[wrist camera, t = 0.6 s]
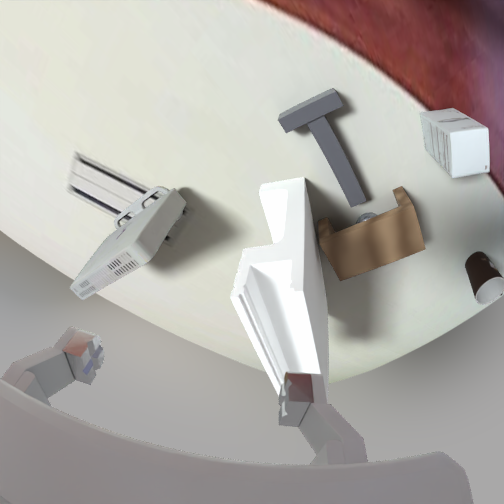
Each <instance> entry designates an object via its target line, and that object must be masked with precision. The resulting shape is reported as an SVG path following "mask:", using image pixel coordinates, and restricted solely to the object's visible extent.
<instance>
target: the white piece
mask: <svg viewBox="0 0 504 504" xmlns="http://www.w3.org/2000/svg"><path fill="white" fill-rule="evenodd" d="M259 195H260V198H261V201H262V205H263V208H264V211H265V215H266V218H267V222H268V225H269V228H270V232H271V235H272V239H273V242H274V244H272V245H265V246H258V247H250V248H243V252H242V257H241V259H240V263H239V267H238V271H239V272H237V274H236V278H235V281H234V285H233V287H234V289H232V292H231V296H230V298H231V300H232V302H233V304H234V307H235V309H236V311H237V313H238V315H239V317H240V319H241V321H242V323H243V325H244V327H245V329H246V331H247V334H248V336H249V338H250V340H251V342H252V344H253V346H254V348H255V350H256V352H257V354H258V356H259V358H260V360H261V362H262V364H263V366H264V368H265V370H266V372H267V374H268V376H269V378H270V379H271V381H272V384H273V386H274V387H275V389H276V391H277V393H278V395H279V394H280V388H281V385H282V383H284V376H285V373H286V372H287V371H289V372H301V373H314V374H322V375H323V379H324V386H325V392H326V399H327V404H328V375H329V344H328V305H327V298H326V292H325V285H324V279H323V273H322V266H321V261H320V255H319V249H318V243H317V238H316V232H315V227H314V222H313V217H312V212H311V206H310V202H309V197H308V192H307V187H306V182H305V178H304V177H301V178H294V179H288V180H283V181H277V182H271V183H266V184H261V188H260V191H259Z"/></svg>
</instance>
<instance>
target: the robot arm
mask: <svg viewBox="0 0 504 504" xmlns="http://www.w3.org/2000/svg"><path fill="white" fill-rule="evenodd" d="M100 343H101V338H100V336H99V335H97V334H94V333H90V332H88V331H84V330H82V329H78V328H75V327H73V326H71V327H69V328H68V329H67V330H66V332H65V333H64V334H63V335H62V337H61V338H60V339H59V341H58V342H57V343H56V344H55V346H54V347H49V348H47V349H44V350H42V351H39V352H37V353H35V354H32V355H30V356H27V357H25V358H23V359H20V360H18V361H16V362H13V364H12V365H11V366H10V367H9V369H8V370H7V371H6V372H5V374H4V375H3V376H2V378H1V379H0V504H473V499H472V494H471V489H470V485H469V482H468V478H467V475H466V472H465V470H464V469H463V468H462V467H461V466H460V465H459V464H458V463H457V462H456V461H454V460H453V459H452V458H450V457H449V456H448V455H446V454H445V453H443V452H432V453H427V454H422V455H417V456H411V457H406V458H399V459H393V460H385V461H376V462H368V460H367V455H366V449H365V444H364V439H363V438H362V437H361V436H360V435H359V433H358V432H357V431H356V430H355V429H354V428H353V427H352V426H351V425H350V424H349V423H348V422H347V421H346V420H345V419H344V418H343V417H342V416H341V415H340V414H339V412H337V410H336V409H335V408H334V407H333V406H332V405H331V404H327V399H326V392H325V386H324V379H323V375H322V374H314V373H301V372H289V371H287V372H286V373H285V376H284V383H282V385H281V388H280V394H279V405H280V406H281V408H280V411H279V425H284V426H294V427H299V429H300V431H301V432H302V434H303V435H304V437H305V438H306V440H307V441H308V442H309V444H310V446H311V447H312V448H313V450H314V451H315V453H316V454H317V456H316V457H315V458H314V460H313V461H312V462H311V463H310V465H290V464H271V463H259V462H248V461H239V460H231V459H224V458H217V457H211V456H205V455H200V454H195V453H190V452H185V451H180V450H176V449H171V448H167V447H163V446H159V445H155V444H152V443H148V442H144V441H141V440H137V439H134V438H131V437H127V436H124V435H121V434H118V433H115V432H112V431H109V430H106V429H104V428H101V427H98V426H96V425H93V424H90V423H88V422H85V421H83V420H80V419H78V418H76V417H73V416H71V415H69V414H66V413H64V412H62V411H59V410H58V409H55V408H53V407H52V406H51V404H50V403H49V401H48V399H47V398H49V397H50V396H52V395H53V394H55V393H57V392H58V391H60V390H61V389H63V388H64V387H66V386H67V385H69V384H71V383H72V382H74V381H75V380H77V381H80V382H83V383H86V384H89V385H91V383H92V381H93V379H94V378H95V376H96V372H95V370H97V369H99V368H100V367H101V365H102V364H103V360H104V350H103V348H102V347H101V346H100Z"/></svg>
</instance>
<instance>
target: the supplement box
mask: <svg viewBox="0 0 504 504" xmlns="http://www.w3.org/2000/svg"><path fill="white" fill-rule="evenodd" d="M420 117H421V123H422V130H423V136H424V143H425V149H426V150H427V151H428V152H429V153H430V154H431V155H432V157H433V158H434V159H435V160H436V161H437V162H438V163H439V164H440V165H441V166H442V167H443V168H444V169H445V170H446V171H447V172H448V174H449V175H450V176H451V177H452V178H458V177H463V176H469V175H475V174H480V173H486V172H490V168H489V167H490V160H489V133H488V128H487V127H485V126H483V125H482V124H480V123H478V122H477V121H475V120H473V119H472V118H470V117H468V116H466V115H465V114H463V113H461V112H459V111H457V110H455V109H454V108H450V109H444V110H437V111H428V112H420Z"/></svg>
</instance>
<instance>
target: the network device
mask: <svg viewBox="0 0 504 504" xmlns="http://www.w3.org/2000/svg"><path fill="white" fill-rule="evenodd" d="M157 191H160V192H162V193H163V194H164V195H163V196H162V197H160V198H159V199H157V200H156V201H155V202H153V203H152V204H150V205H149V206H148V207H146V208H145V207H144V206H143V201H144V200H146V199H147V198H148V197H150V196H151V195H152V194H154V193H155V192H157ZM186 204H187V203H186V201H185V200H184V199H183V198H182V197H181V195H180V194H179V193H178V192H177V190H176V189H175V188H174V189H172V190H170V191H169V190H168V189H167V188H165V187H162V186H156V187H154V188H152V189H151V190H149V191H148V192H147V193H146V194H144V195H143V196H142V197H140V198H139V199H138V200H136V201H135V202H134V203H133V204H131V205H130V206H129V207H128V208H126V209H125V210H124V211H123V212H121V213H120V214H119V215H118V216H117V217H116V218H115V220H114V225H115V227H116V229H117V230H116V231H114V232H113V233H112V234H111V235H109V236H108V237H107V238H106V239H105V240H104V242H103V243H102V244H101V245H100V247H99V248H98V249H97V251H96V252H95V253H94V254H93V256H92V257H91V258H90V260H89V261H88V262H87V264H86V265H85V266H84V268H83V269H82V270H81V272H80V273H79V275H78V276H77V277H76V279H75V280H74V282H73V283H72V285H71V286H70V289H71V290H72V291H73V292H74V293H75V294H76V295H77V296H78V297H80V298H81V299H82V300H84V299H85V298H87V297H89V296H90V295H92V294H94V293H96V292H97V291H99V290H101V289H103V288H104V287H106V286H108V285H109V284H111V283H113V282H115V281H116V280H118V279H120V278H122V277H123V276H125V275H127V274H129V273H130V272H132V271H134V270H136V269H138V268H139V267H141V266H143V265H145V264H146V263H148V262H149V261H150V260H151V259H152V258H153V257H154V255H155V254H156V252H157V250H158V249H159V247H160V245H161V244H162V242H163V240H164V239H165V237H166V236H167V234H168V232H169V231H170V229H171V227H172V226H173V224H174V223H175V222H176V221H178V220H179V219H180V218H181V216H182V214H183V208H184V207H185V205H186ZM129 212H133V213H134V214H135V216H134V217H133V218H131V219H130V220H129V221H127V222H126V223H125V224H123V225H122V226H120V225H119V223H118V221H119V220H120V219H121V218H122V217H123V216H125V215H126V214H127V213H129Z"/></svg>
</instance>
